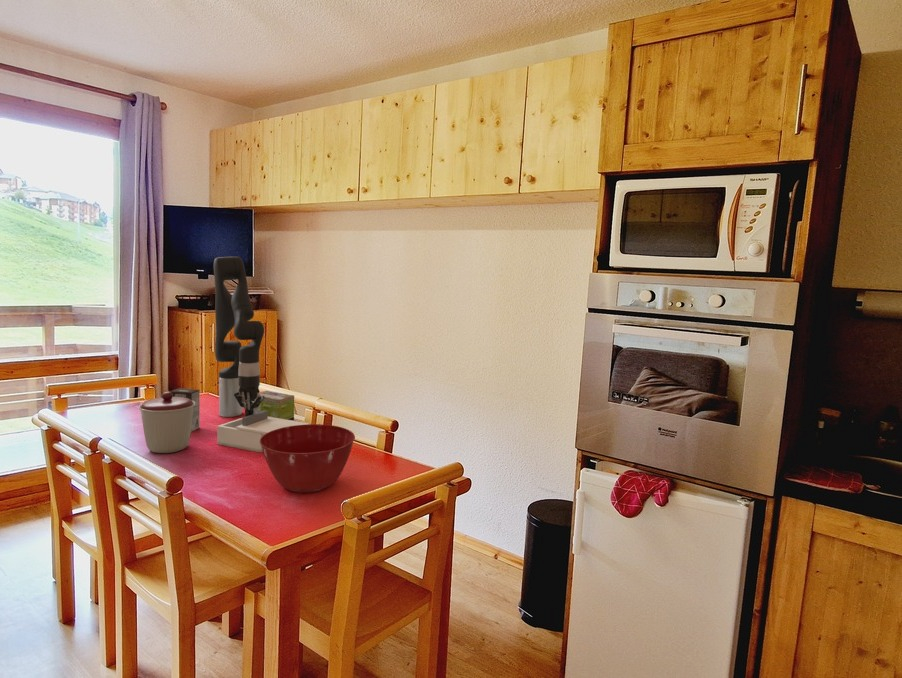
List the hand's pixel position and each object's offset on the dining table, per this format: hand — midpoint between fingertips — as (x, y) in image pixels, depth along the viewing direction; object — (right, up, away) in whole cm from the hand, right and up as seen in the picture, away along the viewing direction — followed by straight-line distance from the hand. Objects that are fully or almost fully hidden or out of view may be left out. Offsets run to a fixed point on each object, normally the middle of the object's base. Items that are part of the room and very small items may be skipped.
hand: (249, 418), depth 208 cm
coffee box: (-31, -6, +14) cm, 34 cm away
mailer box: (+2, -9, +1) cm, 9 cm away
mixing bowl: (+32, -15, -37) cm, 51 cm away
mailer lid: (+10, -3, -3) cm, 11 cm away
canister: (-25, -10, -11) cm, 29 cm away
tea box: (+3, -7, +18) cm, 20 cm away
